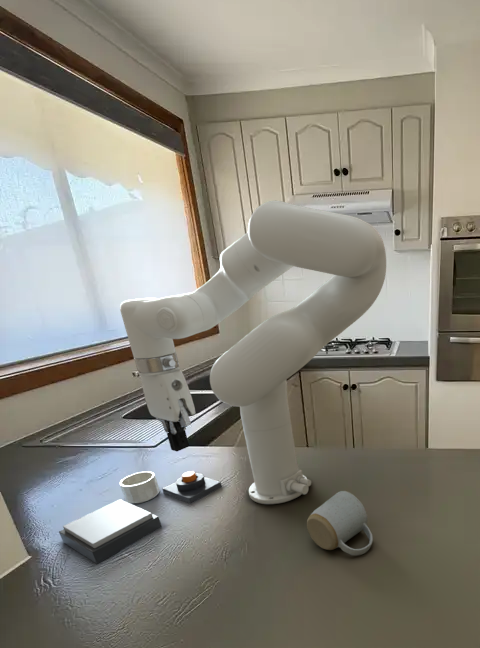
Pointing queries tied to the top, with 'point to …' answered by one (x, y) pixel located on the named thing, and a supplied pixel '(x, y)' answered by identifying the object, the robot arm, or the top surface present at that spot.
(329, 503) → the ceramic mug
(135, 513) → the scale
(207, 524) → the top surface
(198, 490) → the pad
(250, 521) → the top surface
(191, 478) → the button
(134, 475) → the white cup
